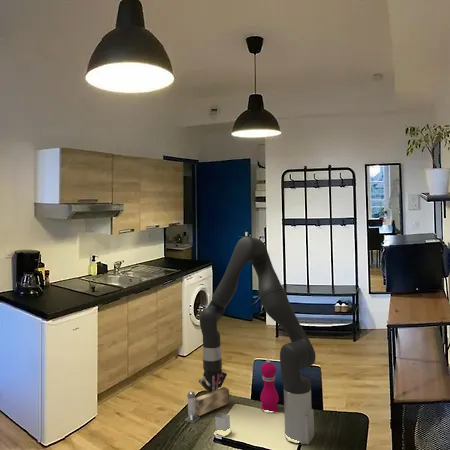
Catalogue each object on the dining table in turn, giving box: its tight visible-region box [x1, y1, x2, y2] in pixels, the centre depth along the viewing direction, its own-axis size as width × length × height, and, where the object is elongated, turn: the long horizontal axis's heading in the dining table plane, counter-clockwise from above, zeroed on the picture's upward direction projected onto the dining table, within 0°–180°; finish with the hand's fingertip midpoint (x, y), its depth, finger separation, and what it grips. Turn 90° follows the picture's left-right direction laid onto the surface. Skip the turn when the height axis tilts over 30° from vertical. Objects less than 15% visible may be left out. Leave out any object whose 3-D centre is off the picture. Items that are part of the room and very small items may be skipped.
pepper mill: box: [259, 358, 280, 412], centre depth 170 cm, size 7×7×20 cm
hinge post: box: [184, 391, 201, 424], centre depth 164 cm, size 4×4×11 cm
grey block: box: [214, 412, 231, 432], centre depth 154 cm, size 4×4×6 cm
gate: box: [195, 386, 230, 417], centre depth 171 cm, size 15×3×6 cm, turn 130°
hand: (213, 399), depth 174 cm, fingers closed
